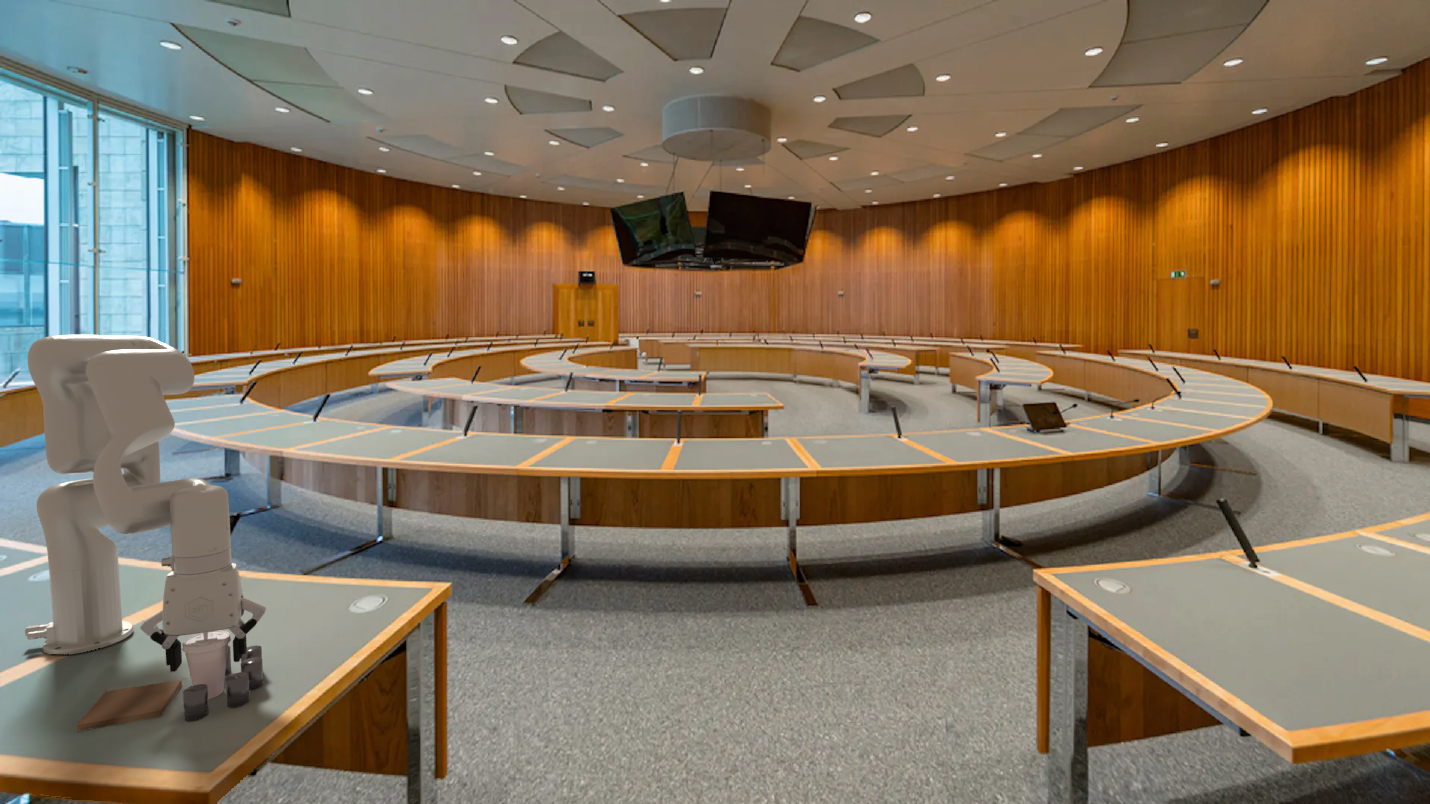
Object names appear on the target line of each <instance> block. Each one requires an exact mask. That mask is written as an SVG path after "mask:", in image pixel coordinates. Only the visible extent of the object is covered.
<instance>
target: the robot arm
mask: <svg viewBox="0 0 1430 804" xmlns="http://www.w3.org/2000/svg"><path fill="white" fill-rule="evenodd" d="M27 353H28V354H27V367H28V371H29V374H30V378H31V379H32V381H33V384H34V385H35V387H36V389H37V391H38V393H39V395H40V399H41V403H42V406H43V407H42V408H43V426H44V427H43V429H44V442H45V446H44V447H45V454H46V461H47V465H48V467H49V468H50V469H51V470H52V471H53V472H54V473H57V474H60V475H81V474H82V475H83V474H88V473H89V474H91V473H93V475H92V477H91V478H83V479H78V480H70V481H66V482H65V481H64V482H62V483H58V484H57V483H56V484H55V485H51V486H50V487H48V488H46V489H44V491H42V492H41V493H40V494H39V495H38V497H37V501H36V512H37V515H38V519H39V522H40V526H41V528H42V531H43V535H44V539H45V544H46V545H45V546H46V551H47V562H48V571H49V586H50V599H51V600H50V602H51V613H52V615H51V616H52V621H50V622H49V623H46V624H36V625H34V624H33V625H27V626H26V628H25V630H24V635H25V637H26V638H27V640H28V641H29V640H37V639H41V638H43V639H45V641H44V642H43V644H42V651H43V652H44V653H45V654H47V655H51V654H64V655H63V656H66V655H67V654H69V655H74V654H77V655H78V654H82V653H87V651H88V652H92V651H96V650H99V649H98V648H100V649H103V648H106V647H109V646H112V645H114V644H117V643H119V642H121V641H124V640H126V638H128V637H129V636H131V635H132V633H133V632H134V625H133V623H131V622H130V621H126V620H123V615H122V600H121V598H122V597H121V585H120V569H119V567H120V566H119V565H120V564H119V553H118V552H119V551H118V547H117V545H116V543H115V542H114V541H113V540H112V539H111V538H110V537H108V536H106V535H105V534H103V533H102V532H101V531H100V529H101V528H103V527H107V526H109V527H111V528H112V529H113V530H114V531H115V532H117V533H118V534H119V533H120V534H123V535H133V534H139V533H144V532H145V533H146V532H150V531H154V530H155V531H156V530H161V529H164V528H168V527H170V533H171V535H170V538H171V551H172V555H170V556H168V557H163V558H162V559H161V562H160V563H161V564H160V565H161V567H167V568H169V567H170V569H171V571H170V572H169V573H167V575H166V578H165V582H164V590H163V600H162V610H160V611H159V612H158V613H156V614H155V615H153V616H151V617H150V618H148V619H147V620H146V621H144V622H143V623H142V625H141V626H140V630H141V631H142V632H143V633H145V635H147V636H149V637H150V640H151V641H154V642H155V643H157V644H158V645H160V646H161V648H162V649H163V650H165V663H166V664H165V665H166V666H169V669H170V673H174V672H176V671H177V670H178V669H179V667H180V666H181V665H182V663H183V660H182V659H183V657H182V656H183V654H182V652H183V651H182V642H181V641H180V640H179V639H178V638H179V637H181V636H188V635H197V634H201V633H205V632H212V631H226V630H229V631H230V632H231V633H232V634H233V635H234V637H233V640H232V654H233V655H232V657H233V662H235V663H239V662H241V657H242V655H243V654H245V653H246V651H247V647H248V646H247V634H248V633H249V632H250V631H252V629H254V628H255V627H256V625H257V624H258V622H259V621H260V620H261V619H262V617H263V616H264V614H265V613H266V611H267V608H266V606H264V605H261V604H258V603H257V602H253V601H252V600H250V599H247V598H245V597H244V591H243V585H242V581H241V575H240V572H239V569H238V566H237V564H236V563H234V562H232V546H231V545H232V544H231V543H232V542H231V525H230V521H231V519H230V504H229V500H230V499H229V493H228V491H227V489H226V488H224V487H223V486H220V485H215V484H213V485H212V484H211V483H210V482H208V481H207V480H205V479H203V478H199V477H191V478H190V477H189V478H183V479H176V480H169V481H161V460H160V459H161V457H160V445H159V441H161V440H163V439H165V438H166V437H167V436H169V435H170V434H171V432H173V431H174V428H175V425H176V424H175V423H176V422H175V419H174V417H173V414H172V413H171V411H170V408H169V406H168V403H167V401H166V399H165V397H164V396H170V395H171V396H174V395H175V396H176V395H183V394H185V393H188V392H189V391H191V389H192V388H193V385H194V384H195V371H194V368H193V365H192V364H191V362H190V360H189V358H188V357H187V356H186V355H185V354H184V353H183V352H181V351H180V350H179V349H178V348H176V347H173V346H171V345H169V344H166V343H164V342H162V341H160V340H157V339H156V338H152V337H150V336H143V335H141V336H140V335H106V334H105V335H104V334H100V335H99V334H60V335H58V334H57V335H52V336H45V337H41V338H39V339H37V340H35V341H34V342H33V343H32V344H31V345H30V347H29V349H28V352H27ZM122 469H123V472H122ZM245 611H246V612H249V613H251V614H252V616H251V617H250V618H249V619H248V620H247V621H246V622H245V621H244V620H243V619H242V616H243V617H244V614H245ZM160 622H162V625H161V626H162V629H160V628H159V626H157V625H158V624H159V623H160ZM95 649H96V650H95ZM91 650H92V651H91ZM65 654H66V655H65ZM67 656H68V655H67Z"/></svg>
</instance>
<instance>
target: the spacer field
mask: <svg viewBox="0 0 1430 804" xmlns="http://www.w3.org/2000/svg"><path fill="white" fill-rule="evenodd" d="M262 653H263V651H262V646H261V645H250V646H247V651H246V653H245V654H243V655H242V657H241V659H240V671H239V672H236V673H233V674H231V673H232V659H231V657H232V655H231V654H232V653H231V646H230V645H228V652H227V660H226V670H225V692H226V694H225V695H226V707H227V708H229V709H235V708H236V709H237V708H241V707H243V706H246V705H247V704H248V703H250V700H251V699H250V692H251V691H255V690H258V689H260V688H262V687H263V686H264V673H263V672H264V670H263V669H264V668H263V656H262V655H263V654H262ZM228 675H229V676H228ZM182 696H183V697H182V698H183V714H184V715H183V718H184V721H185V722H187V723H192V722H197V721H200V720H201V721H202V720H203V719H204V718H206V717H208V715H209V713H210V711H209V699H208V688H207V685H205V684H199V685H194V686H193V685H191V686H189V687H187V688H185V689H184V690H183V691H182Z"/></svg>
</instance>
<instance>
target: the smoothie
mask: <svg viewBox="0 0 1430 804" xmlns="http://www.w3.org/2000/svg"><path fill="white" fill-rule="evenodd" d="M231 640H232V638H231V633H230V632H229V631H226V630H219V631H212V632H205V633H197V634H194V635H192V636H189V637H188V638H186V639H185V640H184V641H183V642H182V643H181V651H182V652H183V653H185V657H186V658H185V659H186V662H187V667H188V669H189V671H188V672H189V675H190V679H191V684H192V685H191V686H194V685H199V684H205V685H207V688H208V700H211V699H213V698H216V697H219V696H220V695H221V694H223V693H224V686H225V680H226V676H225V670H226V660H227V652H228V646H229V643H230V642H231Z"/></svg>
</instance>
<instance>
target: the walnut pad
mask: <svg viewBox="0 0 1430 804" xmlns="http://www.w3.org/2000/svg"><path fill="white" fill-rule="evenodd" d="M182 682H183V681H182V679H177V680H171V681H169V680H168V681H163V682H156V683H151V684H145V685H137V686H131V687H126V688H120V689H113V690H106V691H104V692H103V694H102V695H101V696H100V697H99V698H98V699H97V700H96V702H95V703H94V704H93V705H92V706H91V708H90V709H89V710H88V711H87V712H86V714H85V715H84V716H83V717H82V718H81V719H80V720H79V722H78V723H77V724H76V732H80V731H79V730H81V731H87V730H92V729H97V728H103V727H104V728H105V727H108V726H114V725H115V726H116V725H121V724H126V723H132V722H137V721H144V720H149V719H155V718H161V717H162V716H163V714H164V713H165V711H166V710H167V708H168V707H169V705H170V704H171V702H172V701H173V699H174V698H175V696H176V694H177V693H178V691H179V690H180V688H182V687H181V686H182V684H183V683H182Z"/></svg>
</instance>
